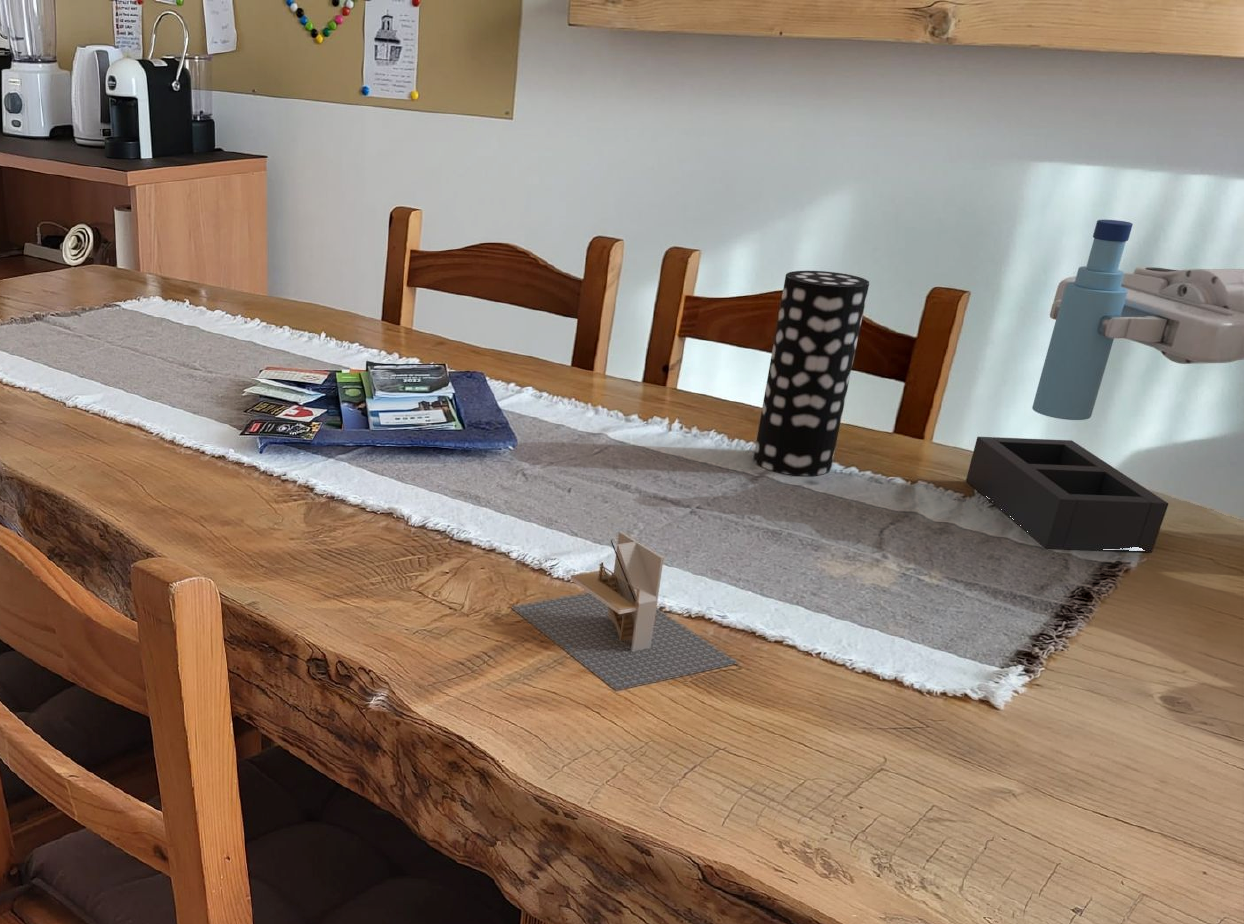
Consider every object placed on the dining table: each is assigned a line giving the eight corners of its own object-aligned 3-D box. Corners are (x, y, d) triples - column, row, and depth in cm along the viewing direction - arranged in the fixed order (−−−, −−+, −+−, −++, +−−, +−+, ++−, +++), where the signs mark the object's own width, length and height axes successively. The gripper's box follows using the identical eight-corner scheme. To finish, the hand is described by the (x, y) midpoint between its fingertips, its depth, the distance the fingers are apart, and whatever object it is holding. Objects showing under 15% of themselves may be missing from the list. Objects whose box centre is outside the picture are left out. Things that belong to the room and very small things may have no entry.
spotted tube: (846, 468, 137) (886, 282, 128) (796, 480, 133) (834, 289, 124) (787, 446, 143) (820, 268, 134) (737, 457, 139) (768, 274, 130)
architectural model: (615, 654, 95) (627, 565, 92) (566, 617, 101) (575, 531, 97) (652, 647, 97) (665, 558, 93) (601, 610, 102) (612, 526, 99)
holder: (1058, 484, 135) (1072, 440, 133) (1152, 552, 119) (1169, 503, 116) (965, 480, 135) (977, 436, 133) (1045, 548, 119) (1060, 499, 116)
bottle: (1074, 405, 124) (1128, 218, 116) (1101, 421, 119) (1159, 227, 111) (1022, 403, 124) (1072, 216, 116) (1047, 419, 119) (1101, 225, 111)
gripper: (1281, 377, 113) (1151, 381, 110) (1117, 325, 130) (1002, 327, 127) (1307, 307, 110) (1174, 308, 107) (1136, 263, 127) (1018, 264, 124)
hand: (1079, 318), depth 117 cm, fingers closed on bottle, 5 cm apart
